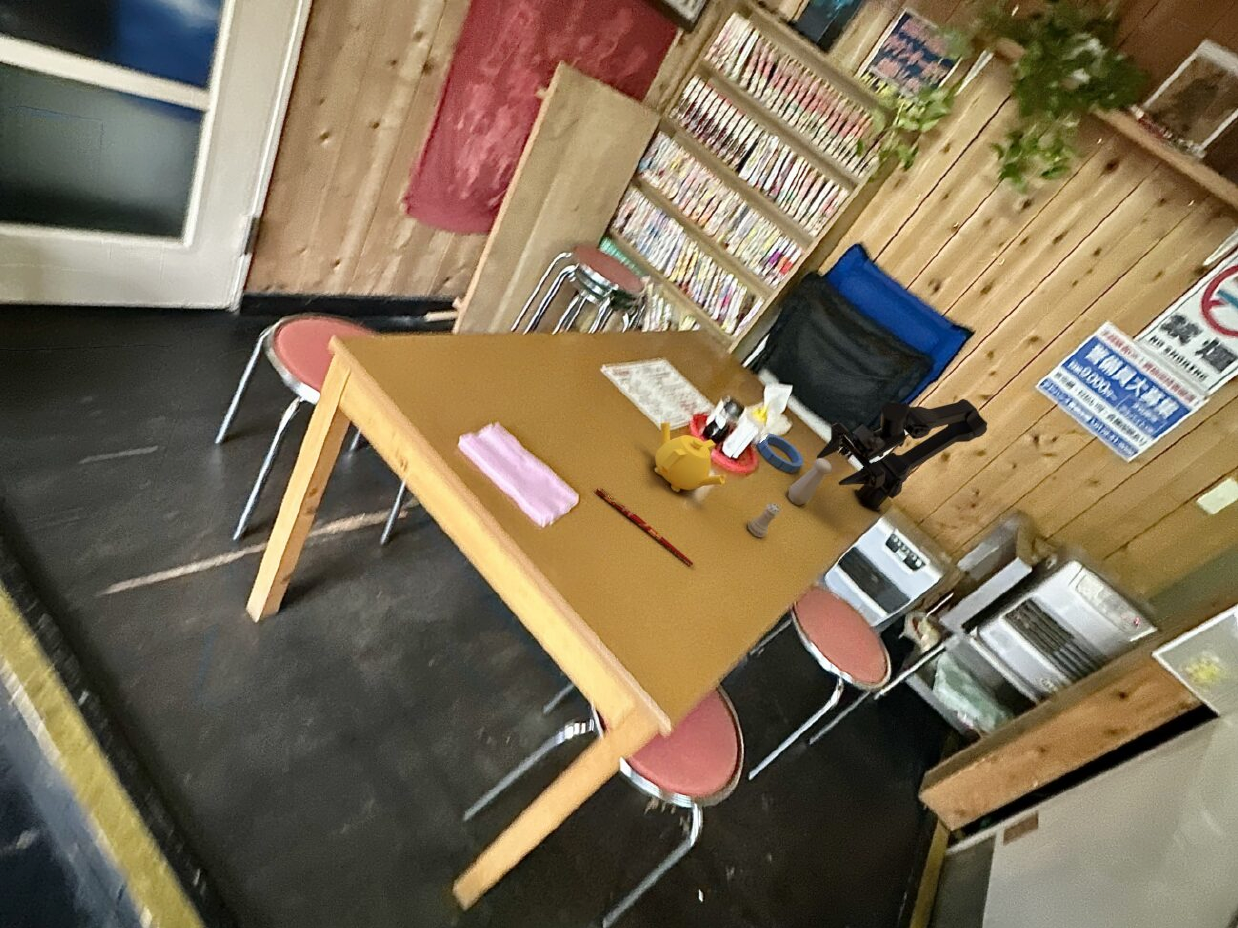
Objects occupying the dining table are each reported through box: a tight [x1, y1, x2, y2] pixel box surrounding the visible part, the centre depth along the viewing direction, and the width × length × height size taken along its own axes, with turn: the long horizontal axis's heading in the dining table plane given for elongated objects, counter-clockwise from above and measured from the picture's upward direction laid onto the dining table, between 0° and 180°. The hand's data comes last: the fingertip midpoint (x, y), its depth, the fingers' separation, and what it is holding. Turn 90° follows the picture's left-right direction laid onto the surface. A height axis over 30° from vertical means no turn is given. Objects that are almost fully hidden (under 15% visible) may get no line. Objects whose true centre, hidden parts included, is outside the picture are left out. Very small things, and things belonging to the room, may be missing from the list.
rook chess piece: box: [747, 502, 781, 538], centre depth 166 cm, size 4×4×8 cm
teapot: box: [654, 422, 726, 493], centre depth 165 cm, size 20×18×11 cm
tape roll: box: [757, 433, 804, 474], centre depth 202 cm, size 13×13×2 cm
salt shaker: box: [787, 457, 833, 506], centre depth 185 cm, size 6×6×13 cm
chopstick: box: [595, 488, 694, 566], centre depth 148 cm, size 2×24×1 cm, turn 61°
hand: (827, 470), depth 185 cm, fingers open, 9 cm apart
